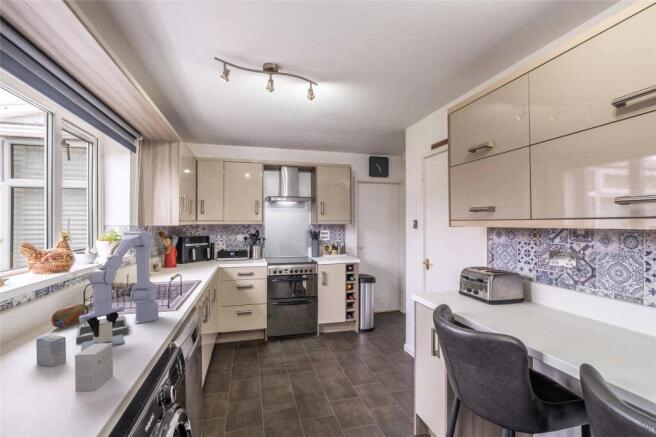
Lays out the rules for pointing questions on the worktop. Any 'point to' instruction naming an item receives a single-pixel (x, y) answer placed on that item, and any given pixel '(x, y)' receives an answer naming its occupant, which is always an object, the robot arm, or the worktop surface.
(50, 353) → the medicine box
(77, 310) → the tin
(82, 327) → the grey open frame tray
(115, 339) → the mat
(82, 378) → the small box
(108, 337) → the block
